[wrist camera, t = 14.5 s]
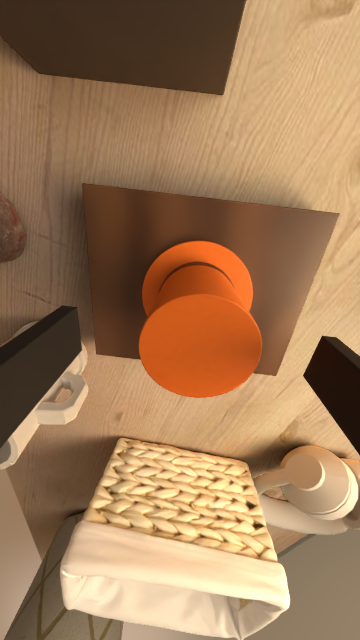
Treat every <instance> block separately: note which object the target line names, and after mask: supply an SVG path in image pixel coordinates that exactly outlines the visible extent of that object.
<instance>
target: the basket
mask: <svg viewBox="0 0 360 640" xmlns="http://www.w3.org/2000/svg"><path fill="white" fill-rule="evenodd" d="M257 523H258V524H257ZM60 581H61V588H62V597H63V602H64V606H65V607H66V609H68V610H71V609H76V610H79V611H82V612H85V613H88V614H91V615H94V616H99V617H104V618H110V619H115V620H120V621H125V622H131V623H138V624H144V625H151V626H156V627H162V628H168V629H173V630H177V631H183V632H188V633H192V634H199V635H205V636H214V637H223V638H231V637H235V638H237V639H238V640H243V639H244V638H245V637H247V636H249V635H252V634H253V633H255V632H257V631H258V630H260V629H262V628H263V627H265V626H266V625H267V624H269V623H270V622H272V621H273V620H275V619H276V618H277V617H278V616H279V614H280V613H282V612H284V611H285V610H287V609H288V607H289V604H290V596H289V591H288V587H287V578H286V575H285V570H284V568H283V566H282V565H281V564H280V563H278V562H277V556H276V553H275V551H274V547H273V542H272V539H271V537H270V534H269V533H268V530H267V528H266V522H265V518H264V517H263V511H262V508H261V506H260V503H259V498H258V495H257V491H256V488H255V486H254V482H253V480H252V477H251V473H250V470H249V466H248V465H247V463H245V462H242V461H239V460H235V459H230V458H223V457H220V456H213V455H208V454H204V453H197V452H191V451H188V450H186V449H184V450H181V449H179V448H175V447H172V446H168V445H157V444H155V443H153V444H151V443H146V442H141V441H139V440H131V439H127V438H120V439H119V440H118V441H117V443H116V447H115V449H114V451H113V454H112V455H111V457H110V460H109V461H108V463H107V466H106V468H105V470H104V473H103V477H102V478H101V479H100V481H99V483H98V486H97V487H96V489H95V493H94V496H93V498H92V499H91V501H90V503H89V505H88V509H87V510H86V511H85V513H84V515H83V517H82V519H81V521H80V522H79V523H77V524H76V526H75V528H74V530H73V533H72V535H71V538H70V543H69V545H68V547H67V549H66V552H65V554H64V556H63V558H62V561H61V566H60Z"/></svg>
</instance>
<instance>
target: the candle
mask: <svg viewBox="0 0 360 640" xmlns="http://www.w3.org/2000/svg"><path fill="white" fill-rule="evenodd" d="M25 242H26V234H25V231H24V229H23V227H22V225H21V222H20V220H19V218H18V216H17V214H16V211H15V209H14V207H13V205H12V204H11V203H10V202H9V201H8V200H7V199H6V198H5V197H4V195H3V194H2V193H0V263H2V262H6V261H11V260H14V259H16V258H17V257H19V256H20V255H21V254H22V252H23V249H24V246H25Z"/></svg>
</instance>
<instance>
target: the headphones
mask: <svg viewBox="0 0 360 640" xmlns="http://www.w3.org/2000/svg"><path fill="white" fill-rule="evenodd" d="M252 480H253V482H254V486H255V488H256V491H257V495H258V498H259V503H260V506H261V508H262V511H263V517H264V518H265V522H266V524H268V525H271V526H274V527H278V528H281V529H286V530H290V531H297V532H301V533H304V534H320V535H333V534H338V533H341V532H344V531H347V528H350V527H351V528H353V529H355V530H358V531H360V460H355V459H343V458H341V459H339V458H338V457H337V456H336V455H334V454H333V453H332V452H331V451H329V450H327V449H324V448H322V447H319V446H312V445H307V446H300V447H298V448H295V449H293V450H291V451H290V452H289V453H288V454H287V455H286V456H285V457H284V458H283V460H282V462H281V464H280V468H279V470H276V471H273V472H270V473H266V474H264V475H262V476H261V475H260V476H258V477H256V478H254V479H252ZM279 486H280V487H281V490H282V492H283V495H284V496H285V497H286V498H287V500H288V501H289V502H288V501H283V500H277V499H273V498H270V497H268V496H266V495H263V494H262V493H263V492H264V491H265V490H267V489H270V488H275V487H279Z"/></svg>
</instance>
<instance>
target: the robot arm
mask: <svg viewBox="0 0 360 640" xmlns="http://www.w3.org/2000/svg"><path fill="white" fill-rule="evenodd" d="M81 351H82V344H81V336H80V328H79V320H78V312H77V307H71V306H63V305H62V306H61V307H59V308H58V309H56V310H55V311H53V312H52V313H50V314H49V315H48V316H46V317H45V318H43V319H42V320H40V321H39V322H37V323H36V324H34V325H33V326H31V327H30V328H28V329H27V330H25V331H24V332H22V333H21V334H19V335H18V336H16V337H15V338H13V339H12V340H10V341H9V342H7V343H6V344H4V345H3V346H1V347H0V448H1V447H2V446H3V445H4V444H5V442H6V441H7V440H8V439H9V437H10V436H11V435H12V434H13V433H14V431H15V430H16V429H17V428H18V427H19V425H20V424H21V423H22V422H23V421H24V419H25V418H26V417H27V416H28V415H29V413H30V412H31V411H32V410H33V409H34V407H35V406H36V405H37V404H38V403H39V401H40V400H41V399H42V398H43V397H44V395H45V394H46V393H47V392H48V391H49V389H50V388H51V387H52V386H53V385H54V383H55V382H56V381H57V380H58V379H59V377H60V376H61V375H62V374H63V373H64V371H65V370H66V369H67V368H68V367H69V365H70V364H71V363H72V362H73V361H74V359H75V358H76V357H77V356H78V355H79V353H80V352H81ZM303 376H304V378H305V379H306V381H307V382H308V383H309V385H310V386H311V388H312V389H313V390H314V392H315V393H316V395H317V396H318V397H319V399H320V400H321V402H322V403H323V404H324V406H325V407H326V409H327V410H328V411H329V413H330V414H331V416H332V417H333V418H334V420H335V421H336V423H337V424H338V425H339V427H340V428H341V430H342V431H343V432H344V434H345V435H346V437H347V438H348V439H349V441H350V442H351V444H352V445H353V446H354V448H355V449H356V451H357V452H358V453H359V455H360V356H359V355H357V354H356V353H355V352H354V351H352V350H351V349H350V348H349V347H348V346H346V345H345V344H344V343H343V342H341V341H340V340H339V339H338V338H336V337H328V336H322V337H321V339H320V341H319V343H318V346H317V348H316V350H315V352H314V354H313V356H312V358H311V360H310V362H309V364H308V367H307V369H306V371H305V373H304V375H303Z"/></svg>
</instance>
